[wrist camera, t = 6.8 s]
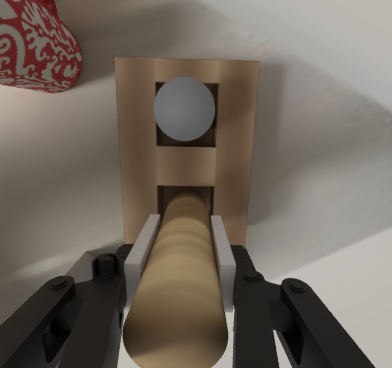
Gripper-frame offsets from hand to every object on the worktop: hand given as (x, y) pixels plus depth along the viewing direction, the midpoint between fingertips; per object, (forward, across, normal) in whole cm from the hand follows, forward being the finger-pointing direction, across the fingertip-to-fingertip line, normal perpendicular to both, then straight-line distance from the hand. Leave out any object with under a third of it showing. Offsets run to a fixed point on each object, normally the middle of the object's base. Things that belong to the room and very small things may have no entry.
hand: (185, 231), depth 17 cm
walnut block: (+10, 0, +4) cm, 11 cm away
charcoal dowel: (+8, 0, +9) cm, 12 cm away
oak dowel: (+5, 0, 0) cm, 5 cm away
